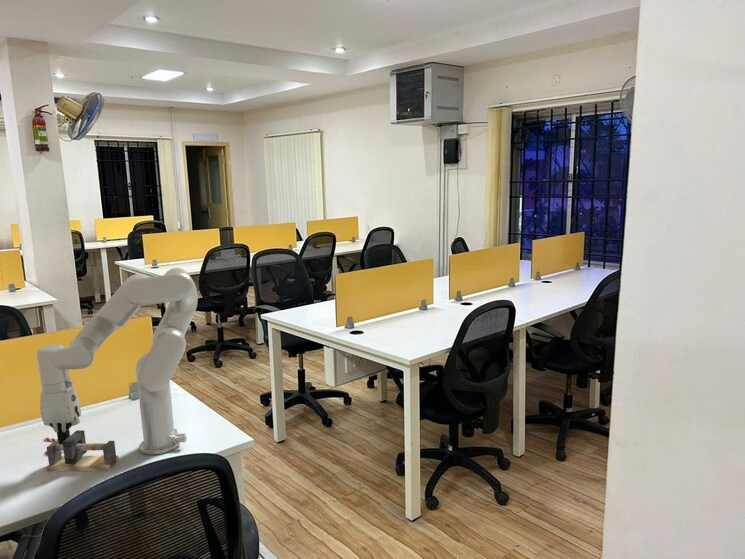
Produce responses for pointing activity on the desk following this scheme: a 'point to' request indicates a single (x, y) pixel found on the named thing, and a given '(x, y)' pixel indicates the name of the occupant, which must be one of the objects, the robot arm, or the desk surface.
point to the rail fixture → (84, 462)
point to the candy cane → (52, 441)
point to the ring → (73, 447)
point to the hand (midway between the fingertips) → (64, 442)
